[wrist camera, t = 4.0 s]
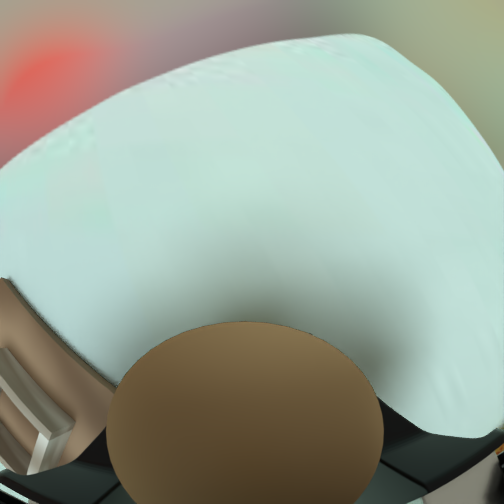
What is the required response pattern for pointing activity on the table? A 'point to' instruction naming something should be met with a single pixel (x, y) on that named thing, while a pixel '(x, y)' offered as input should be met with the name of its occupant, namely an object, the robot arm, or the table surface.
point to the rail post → (244, 420)
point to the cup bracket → (44, 392)
